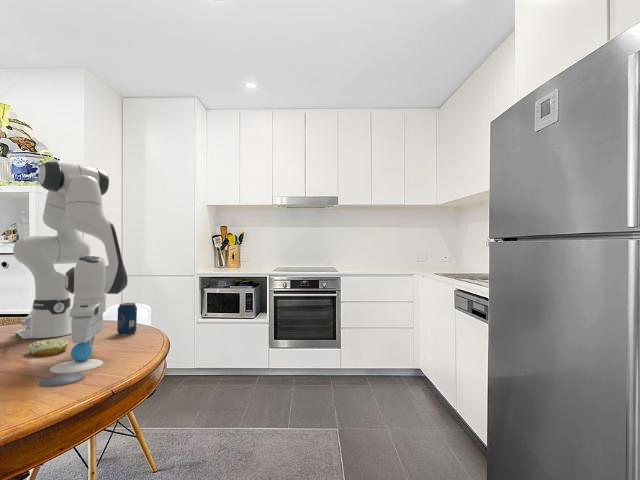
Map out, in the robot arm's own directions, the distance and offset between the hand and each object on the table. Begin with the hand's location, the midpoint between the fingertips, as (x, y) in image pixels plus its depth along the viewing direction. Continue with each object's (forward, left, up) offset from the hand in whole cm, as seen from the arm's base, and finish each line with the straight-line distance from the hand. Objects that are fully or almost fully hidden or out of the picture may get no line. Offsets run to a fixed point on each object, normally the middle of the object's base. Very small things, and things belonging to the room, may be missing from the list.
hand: (88, 350), depth 119 cm
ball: (+4, -4, +1) cm, 6 cm away
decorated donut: (-15, -5, -2) cm, 16 cm away
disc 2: (+8, -7, -2) cm, 11 cm away
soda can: (-21, +25, -2) cm, 33 cm away
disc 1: (+18, -15, -2) cm, 23 cm away
